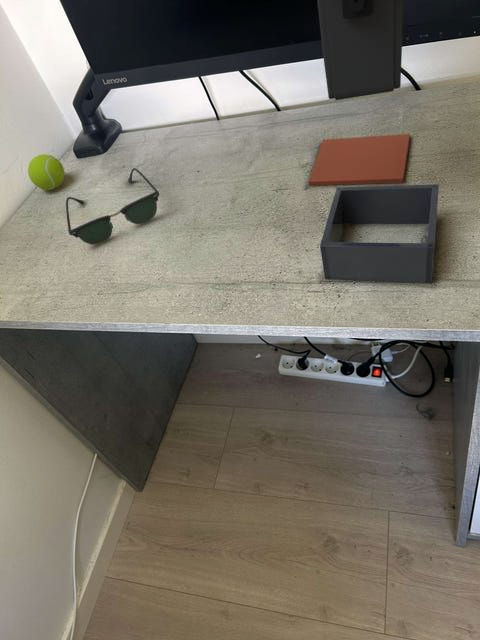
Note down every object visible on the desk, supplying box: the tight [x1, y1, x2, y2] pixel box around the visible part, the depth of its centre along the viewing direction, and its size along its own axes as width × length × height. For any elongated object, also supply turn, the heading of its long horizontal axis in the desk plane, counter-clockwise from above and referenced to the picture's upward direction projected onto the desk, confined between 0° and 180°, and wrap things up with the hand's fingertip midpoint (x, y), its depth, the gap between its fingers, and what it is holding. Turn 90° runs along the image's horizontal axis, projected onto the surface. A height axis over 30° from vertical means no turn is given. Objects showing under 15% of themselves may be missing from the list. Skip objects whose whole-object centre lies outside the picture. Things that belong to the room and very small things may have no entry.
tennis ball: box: [27, 153, 66, 191], centre depth 101 cm, size 7×7×7 cm
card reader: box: [317, 0, 404, 101], centre depth 56 cm, size 9×4×15 cm, turn 82°
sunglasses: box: [65, 167, 160, 246], centre depth 89 cm, size 16×17×5 cm
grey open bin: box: [319, 183, 440, 284], centre depth 66 cm, size 14×13×6 cm
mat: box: [308, 133, 411, 186], centre depth 83 cm, size 15×13×1 cm
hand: (361, 5), depth 55 cm, fingers closed on card reader, 4 cm apart
